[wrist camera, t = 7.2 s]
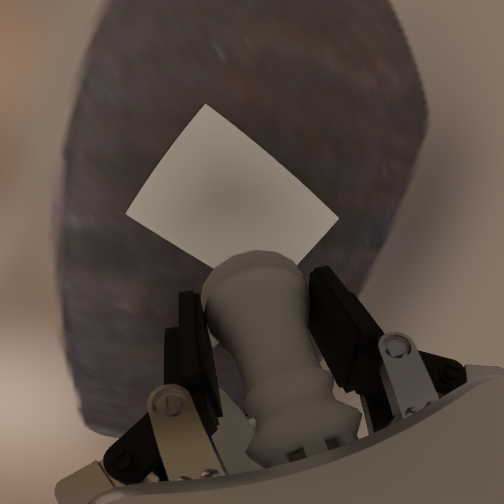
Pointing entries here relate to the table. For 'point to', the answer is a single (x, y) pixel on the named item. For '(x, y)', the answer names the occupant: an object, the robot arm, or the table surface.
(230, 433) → the chalice
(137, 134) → the table surface
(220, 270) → the rook chess piece
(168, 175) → the grey mat
